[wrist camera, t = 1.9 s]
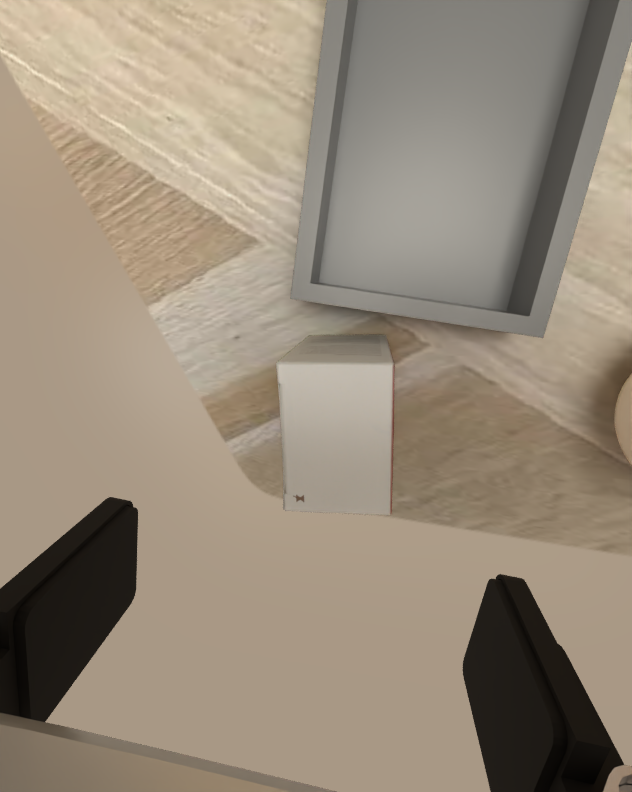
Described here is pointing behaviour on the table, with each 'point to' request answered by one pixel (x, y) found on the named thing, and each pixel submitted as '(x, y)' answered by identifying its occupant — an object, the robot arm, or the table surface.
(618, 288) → the table surface
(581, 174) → the tote
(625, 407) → the lidded jar
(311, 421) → the small box
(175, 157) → the table surface
